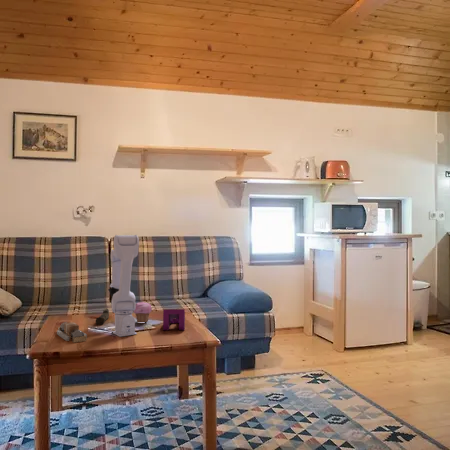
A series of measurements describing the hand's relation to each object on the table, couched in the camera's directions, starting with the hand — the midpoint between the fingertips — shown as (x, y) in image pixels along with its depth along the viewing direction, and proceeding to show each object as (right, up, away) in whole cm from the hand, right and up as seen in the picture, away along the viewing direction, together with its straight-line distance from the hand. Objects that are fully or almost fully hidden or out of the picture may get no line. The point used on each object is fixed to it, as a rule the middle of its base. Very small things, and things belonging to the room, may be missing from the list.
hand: (118, 304), depth 214 cm
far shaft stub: (-20, -10, -14) cm, 26 cm away
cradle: (-15, -10, -20) cm, 27 cm away
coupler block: (-15, -10, -20) cm, 27 cm away
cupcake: (+10, -10, +6) cm, 16 cm away
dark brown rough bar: (-10, -10, +10) cm, 18 cm away
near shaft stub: (-10, -10, -27) cm, 30 cm away
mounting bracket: (+27, -10, -3) cm, 29 cm away
